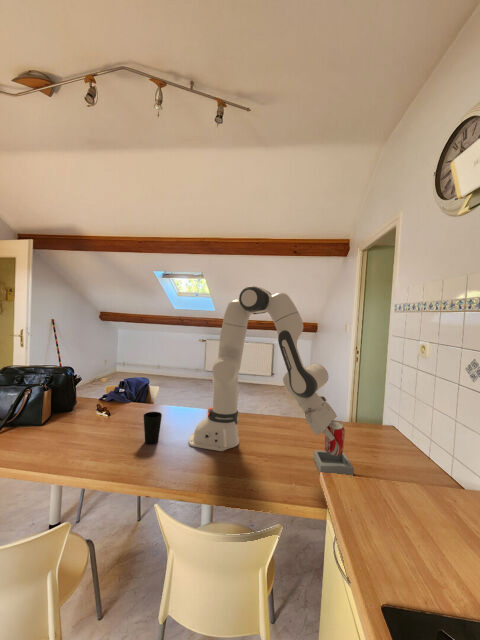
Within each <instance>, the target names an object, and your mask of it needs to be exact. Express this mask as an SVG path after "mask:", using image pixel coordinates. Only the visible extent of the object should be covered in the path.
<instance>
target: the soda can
mask: <svg viewBox="0 0 480 640" xmlns="http://www.w3.org/2000/svg"><path fill="white" fill-rule="evenodd" d="M327 428H328V431H329V432H330V433H332V434H333V435H334V436H335V438H334V439H333V440H332V441H331V440H330V439H329V438H328V437H327V436H326V435H324V451H326V452H328V453H329V454H331V455H334V456H338V455H341V454H342V453H343V452H344V449H345V448H344V447H345V445H344V444H345V433H346V430H345V427H344V424H343V423H342V422H341V421H339V420H336V419H334V420H332V422H331V424H330V425H329V426H328V427H327Z"/></svg>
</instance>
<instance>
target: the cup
mask: <svg viewBox="0 0 480 640" xmlns="http://www.w3.org/2000/svg"><path fill="white" fill-rule="evenodd" d="M162 416H163V414H162V413H161V412H159V411H150V412H146V413H144V414H143V424H144V425H143V431H144V444H146V445H147V446H148V445H149V446H150V445H151V446H152V445H153V446H154V445H157V444H158V443H159V440H160V439H159V438H160V432H161V431H160V430H161V423H162V418H163V417H162Z"/></svg>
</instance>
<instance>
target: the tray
mask: <svg viewBox="0 0 480 640" xmlns="http://www.w3.org/2000/svg"><path fill="white" fill-rule="evenodd" d="M313 461H314V463H315V466H316V468H317V471H318V474H319V473H320V472H324V473H337V474H346V475H353V476H354V471H355V470H354V469H355V468H354V466H353V464H352V463H351V461H350V460H349V458H348V457H347V455H346V454H345V451H343V453H342V454H341V455H338V456H334V455H331V454H329V453H328V452H326V450H317V449H316V450H313Z"/></svg>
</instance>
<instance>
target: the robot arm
mask: <svg viewBox="0 0 480 640" xmlns="http://www.w3.org/2000/svg"><path fill="white" fill-rule="evenodd" d="M266 313H267V314H269V316H270V317H271V320H272V322H273V325H274V327H275V329H276V331H277V337H278V338H277V341H278V345H279V350H280V352H281V355H282V358H283V361H284V365H285V367H286V370H287V372H286V373H285V374H284V376H283V378H282V382H283V386H284V387H285V390H286V391H287V392H288V393H289V395H290V396H291V397H292V398H293V399H294V400H295V402H296V403H297V406H298V407H299V408H300V409H301V411H302V413H304V417H305V421H306V423H307V425H308V426H309V429H311V430H312V432H313V434H314V435H316V436H319V435H320V434H323V435H324V436H325V435H326V436H327V437H328V438H329V439H330V440H331V441H332V440H333V439H334V438H335V436H334V435H333V434H332V433H330V432H329V431H328V428H327V427H328V426H329V425H330V424H331V422H332V420H336V419H337V417H338V416H337V413H336V412H335V410H334V409H333V408H332V406H331V404H329V403H328V402H327V401H328V400H327V398H326V397H325V396H324V395H323V396H322V395H319V394H318V393H317V392H318V391H319V390H320V389H321V388H323V387H324V386H325V385H326V384H327V383H328V381H329V373H328V371H327V369H326V368H325V367H324V366H323V365H322V364H319V363H313V364H309V365H307V366H304V364H303V361H302V358H301V355H300V353H299V349H298V340H299V338H300V336H301V335H302V334H303V331H304V322H303V319H302V317H301V314H300V312H299V311H298V308H297V306H296V305H295V303H294V302H293V300H292V299H291V297H290V296H289V295H288V294H287V293H285V292H277V293H275V294H272V293H271V292H270V291H268V290H266V289H265V288H262V287H258V286H254V285H253V286H252V285H249V286H247V287H244V288H243V289H242V290H241V292H240V294H239V297H238V299H234V300H231V301H229V303H228V304H227V306H226V309H225V311H224V316H223V318H222V319H223V320H222V326H221V330H220V335H219V336H220V337H219V339H218V340H219V343H218V345H219V346H218V355H217V360H215V361H214V363H213V365H212V369H211V372H212V390H213V391H212V392H213V394H212V396H213V397H212V406H211V407H209V408H208V410H207V417H206V418H205V419H204V420H201V422H199V423H198V424H197V425H196V427H195V430H194V432H193V433H191V434H190V436H189V438H188V445H189V446H190V447H194V448H198V449H199V448H200V449H206V450H212V451H217V452H218V451H219V452H224V451H226V450H228V449H232V448H235V447H237V446H238V445H239V444H240V438H239V432H238V423H239V410H238V402H239V401H238V400H239V372H240V369H241V365H242V359H243V352H244V346H245V339H246V336H247V335H246V334H247V331H248V330H247V329H248V325H249V324H248V323H249V320H250V317H251V316H252V315H261V314H266Z"/></svg>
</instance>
